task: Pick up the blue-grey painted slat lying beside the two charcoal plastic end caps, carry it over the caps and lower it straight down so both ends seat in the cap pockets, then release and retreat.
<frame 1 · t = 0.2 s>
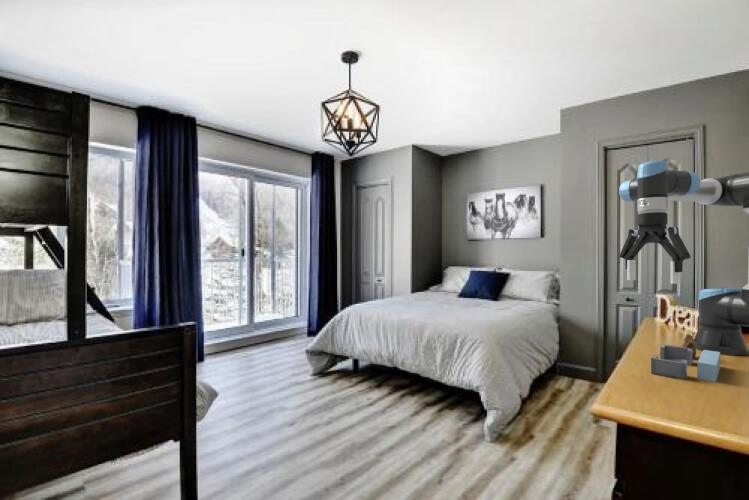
hand: (652, 281, 117), 27 cm above the table, fingers open, 13 cm apart
rock: (687, 357, 133), on the table
end caps: (672, 367, 120), on the table
slat: (709, 373, 115), on the table
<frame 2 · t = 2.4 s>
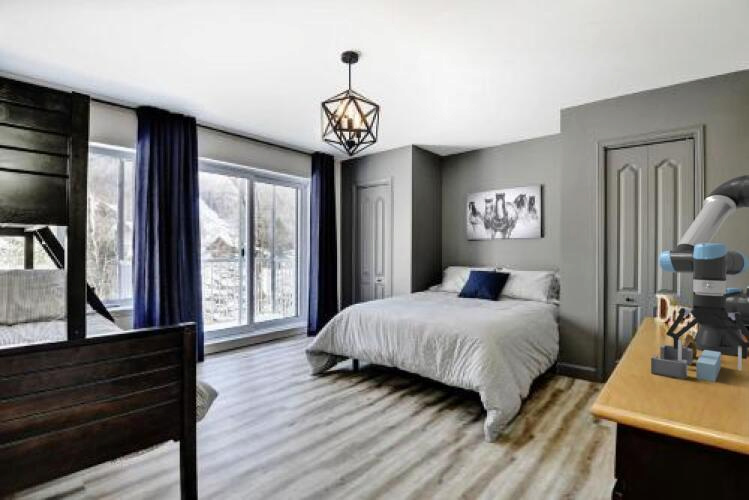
hand: (708, 364, 115), 2 cm above the table, fingers open, 13 cm apart
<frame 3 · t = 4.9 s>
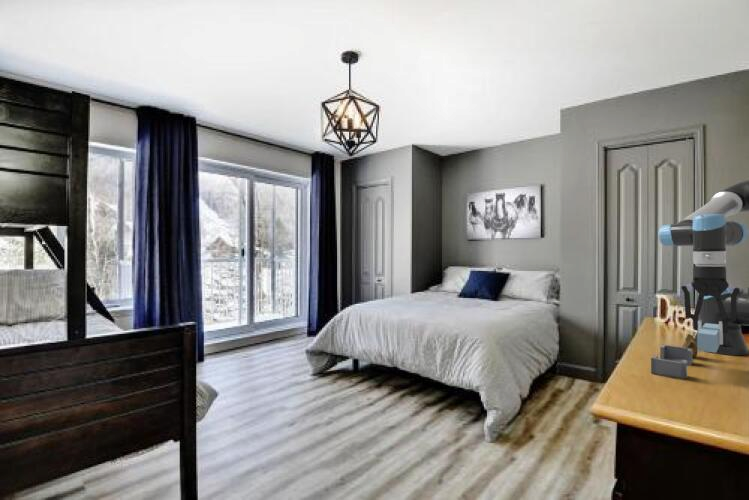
hand: (710, 342, 116), 9 cm above the table, fingers closed on slat, 4 cm apart
slat: (710, 345, 116), point 8 cm above the table, touching gripper
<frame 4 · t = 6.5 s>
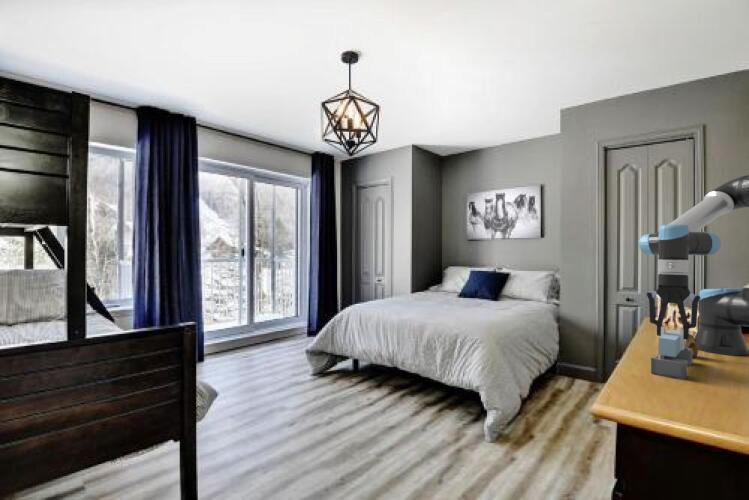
hand: (672, 347, 120), 6 cm above the table, fingers closed on slat, 4 cm apart
slat: (672, 350, 120), point 6 cm above the table, touching gripper
when the fingers open (0 cm above the table, at t = 8.5 s): slat stays where it is, resting on end caps.
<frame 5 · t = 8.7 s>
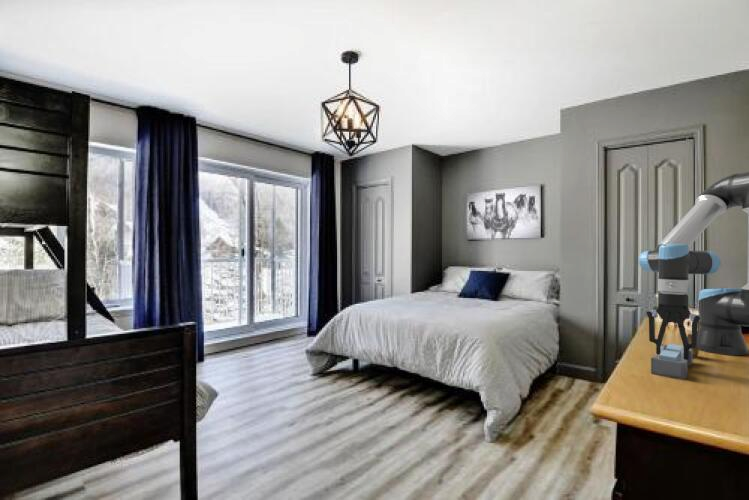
hand: (672, 367, 120), 0 cm above the table, fingers open, 4 cm apart
slat: (672, 366, 120), point 1 cm above the table, touching end caps
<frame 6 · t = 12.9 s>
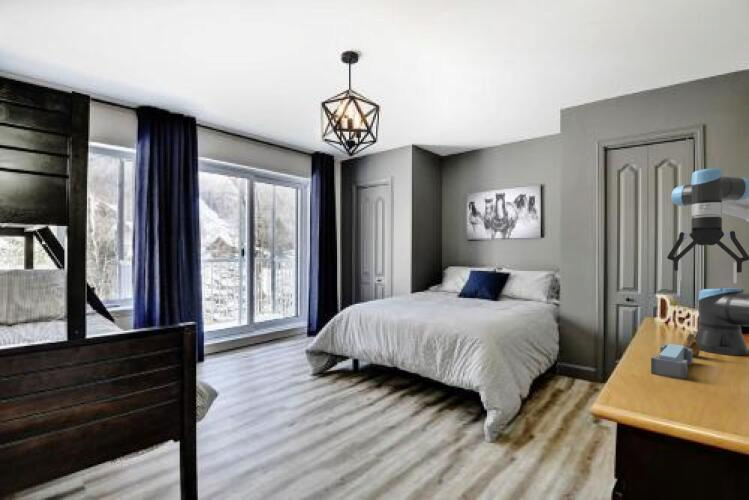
hand: (706, 282, 125), 27 cm above the table, fingers open, 13 cm apart
at the end: slat 0.5 cm off-centre on the end caps, point 0.6 cm above the end caps's base; slat tilted 0°; the gripper is holding nothing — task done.
